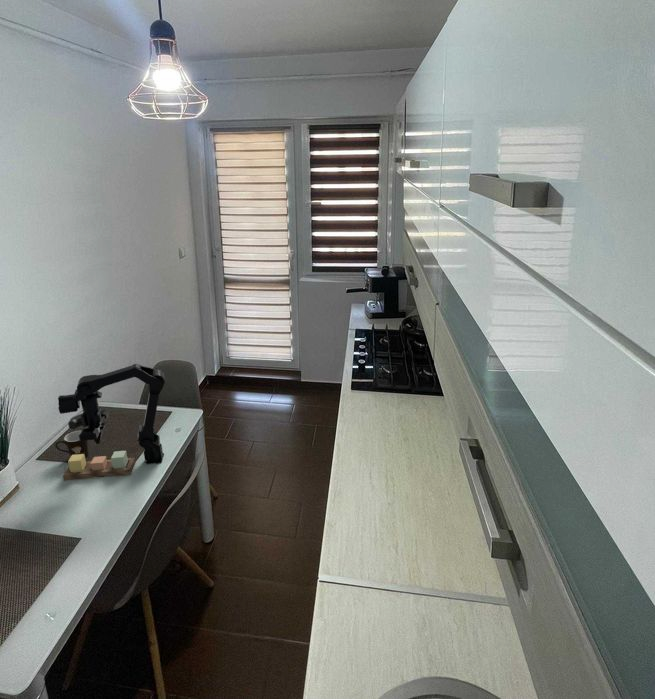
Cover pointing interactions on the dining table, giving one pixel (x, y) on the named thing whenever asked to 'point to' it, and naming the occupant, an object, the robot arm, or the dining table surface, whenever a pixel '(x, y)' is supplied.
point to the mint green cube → (119, 459)
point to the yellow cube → (77, 463)
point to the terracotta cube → (99, 463)
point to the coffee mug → (75, 444)
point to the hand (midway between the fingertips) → (98, 443)
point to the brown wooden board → (100, 471)
